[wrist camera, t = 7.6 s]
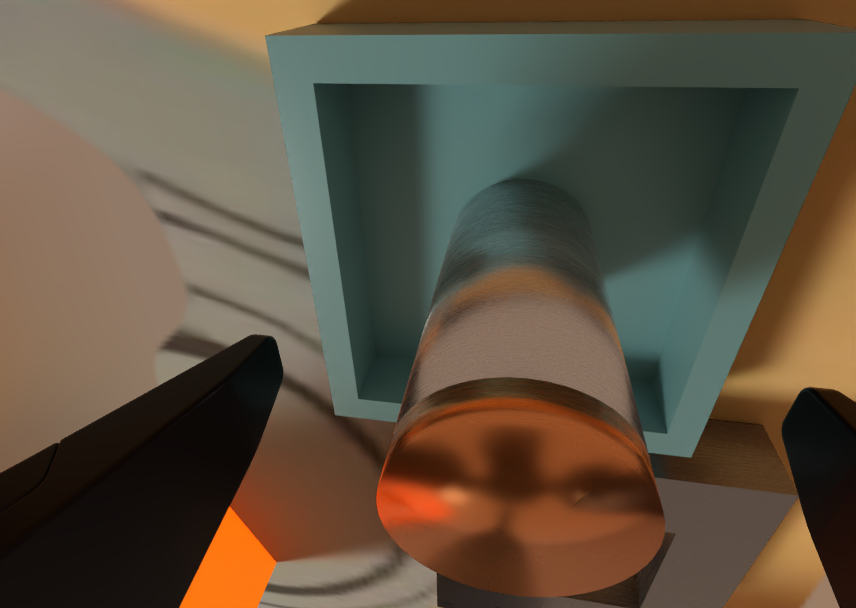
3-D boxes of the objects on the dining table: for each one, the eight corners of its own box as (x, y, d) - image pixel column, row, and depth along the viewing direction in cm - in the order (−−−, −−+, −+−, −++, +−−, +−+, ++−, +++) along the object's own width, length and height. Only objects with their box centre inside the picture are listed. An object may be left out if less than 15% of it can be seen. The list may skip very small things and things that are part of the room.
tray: (669, 391, 15) (691, 457, 13) (358, 360, 17) (335, 415, 15) (803, 19, 9) (878, 31, 7) (314, 23, 11) (265, 36, 9)
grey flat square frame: (677, 585, 21) (692, 651, 19) (446, 548, 22) (437, 606, 20) (762, 425, 15) (798, 495, 13) (446, 391, 17) (434, 449, 15)
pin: (580, 308, 13) (630, 614, 7) (450, 299, 14) (385, 574, 7) (604, 181, 11) (704, 448, 5) (450, 176, 12) (364, 410, 5)
